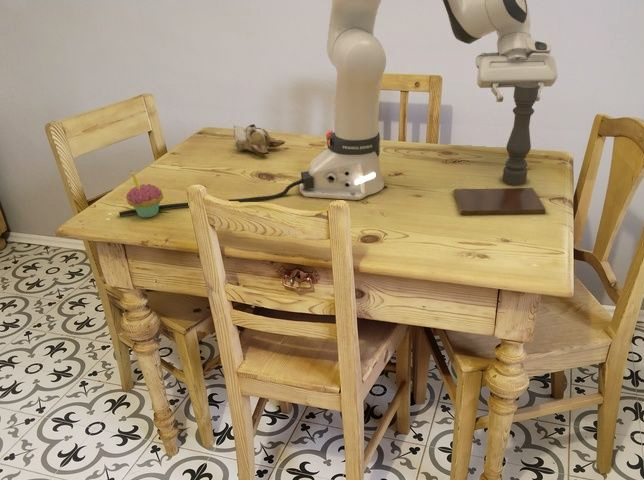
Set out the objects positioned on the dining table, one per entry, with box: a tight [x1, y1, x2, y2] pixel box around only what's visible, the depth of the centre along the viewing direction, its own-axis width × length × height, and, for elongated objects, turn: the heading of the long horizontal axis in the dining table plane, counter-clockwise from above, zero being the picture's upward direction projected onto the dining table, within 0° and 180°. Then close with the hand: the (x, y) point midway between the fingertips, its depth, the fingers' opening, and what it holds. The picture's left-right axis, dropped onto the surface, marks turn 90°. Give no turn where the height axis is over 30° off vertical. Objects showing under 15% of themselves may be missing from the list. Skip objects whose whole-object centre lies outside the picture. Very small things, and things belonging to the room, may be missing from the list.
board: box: [453, 187, 546, 216], centre depth 150 cm, size 20×13×1 cm, turn 89°
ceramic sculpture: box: [233, 124, 286, 156], centre depth 183 cm, size 11×9×15 cm
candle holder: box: [501, 82, 539, 186], centre depth 155 cm, size 6×6×25 cm
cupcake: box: [126, 169, 164, 218], centre depth 146 cm, size 9×8×12 cm
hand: (518, 100), depth 156 cm, fingers open, 8 cm apart
